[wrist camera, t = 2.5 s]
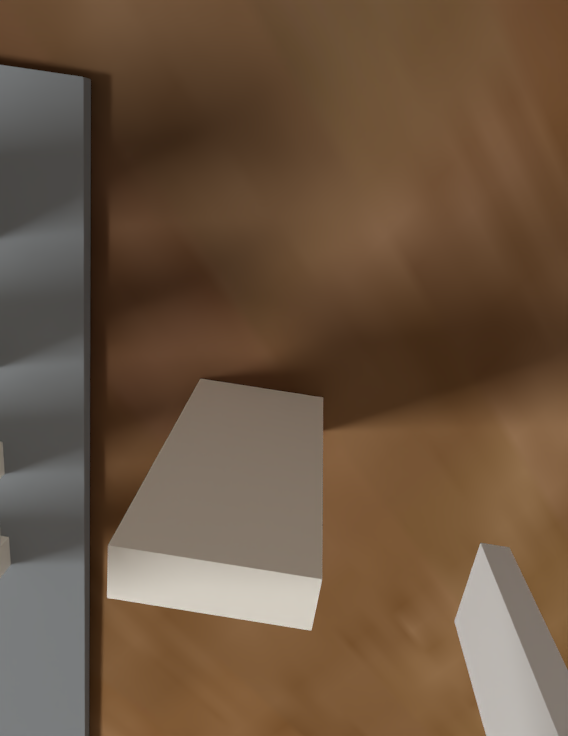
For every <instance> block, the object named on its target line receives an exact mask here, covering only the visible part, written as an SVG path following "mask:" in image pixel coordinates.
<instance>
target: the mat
mask: <svg viewBox="0 0 568 736" xmlns="http://www.w3.org/2000/svg"><path fill="white" fill-rule="evenodd" d="M90 247H91V79H88V78H85V77H81V76H74V75H67V74H60V73H53V72H47V71H40V70H33V69H26V68H19V67H13V66H6V65H0V442H3V456H4V471H5V474H4V475H3V476H2V477H1V478H0V536H6V537H9V546H10V561H11V565H10V566H9V567H8V569H7V570H6V571H5V573H4V574H3V575H2V577H1V578H0V736H89V623H90Z"/></svg>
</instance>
